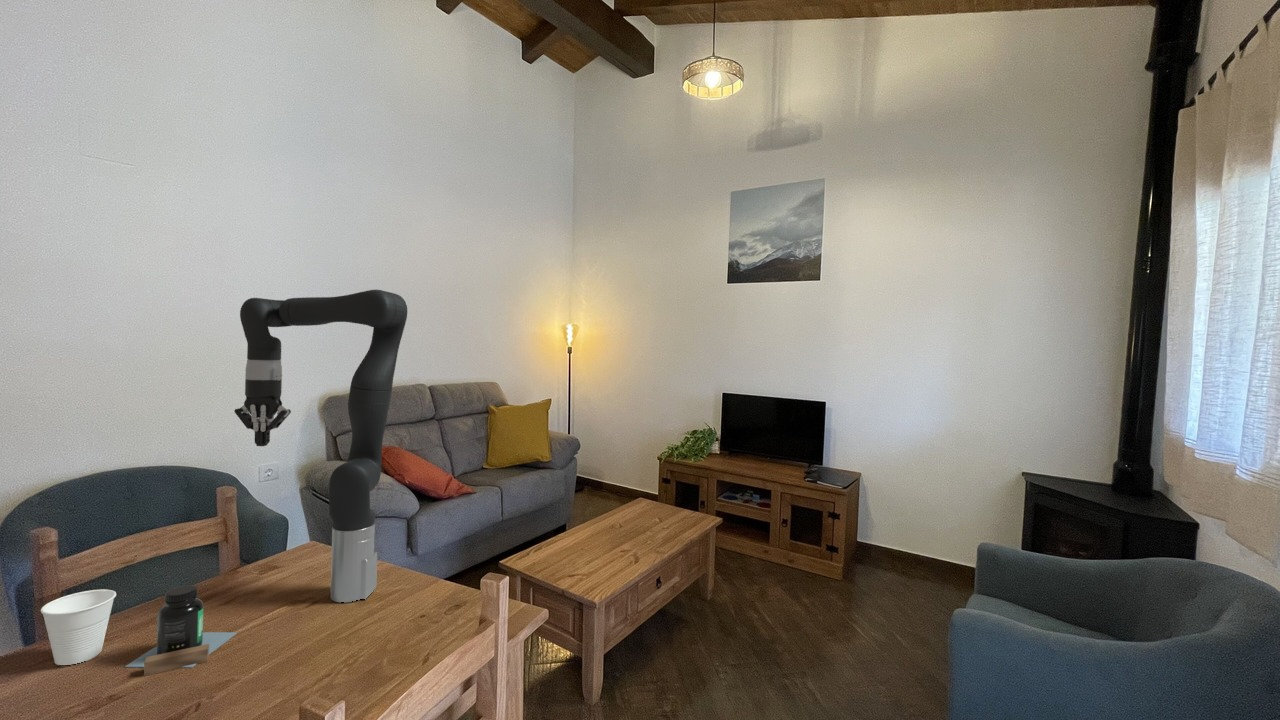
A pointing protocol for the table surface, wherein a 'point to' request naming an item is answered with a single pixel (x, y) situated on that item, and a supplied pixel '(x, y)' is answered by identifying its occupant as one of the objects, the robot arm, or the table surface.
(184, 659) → the rail
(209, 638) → the mat
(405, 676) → the table surface
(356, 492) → the robot arm
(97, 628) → the cup
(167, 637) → the supplement bottle
